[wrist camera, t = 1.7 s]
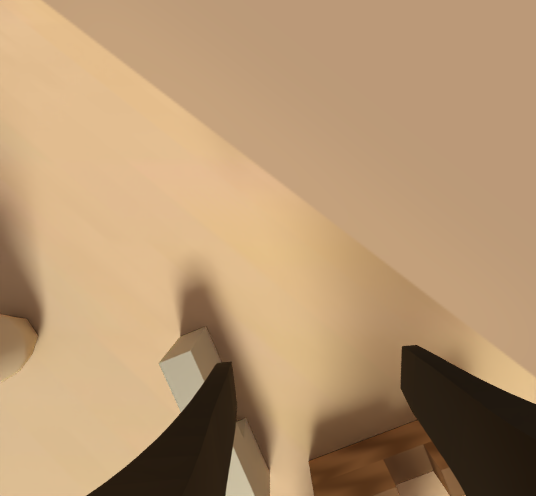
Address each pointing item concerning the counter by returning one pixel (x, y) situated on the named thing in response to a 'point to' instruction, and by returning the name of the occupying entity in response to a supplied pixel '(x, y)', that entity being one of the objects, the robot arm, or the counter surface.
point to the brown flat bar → (381, 465)
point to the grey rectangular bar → (244, 446)
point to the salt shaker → (15, 344)
